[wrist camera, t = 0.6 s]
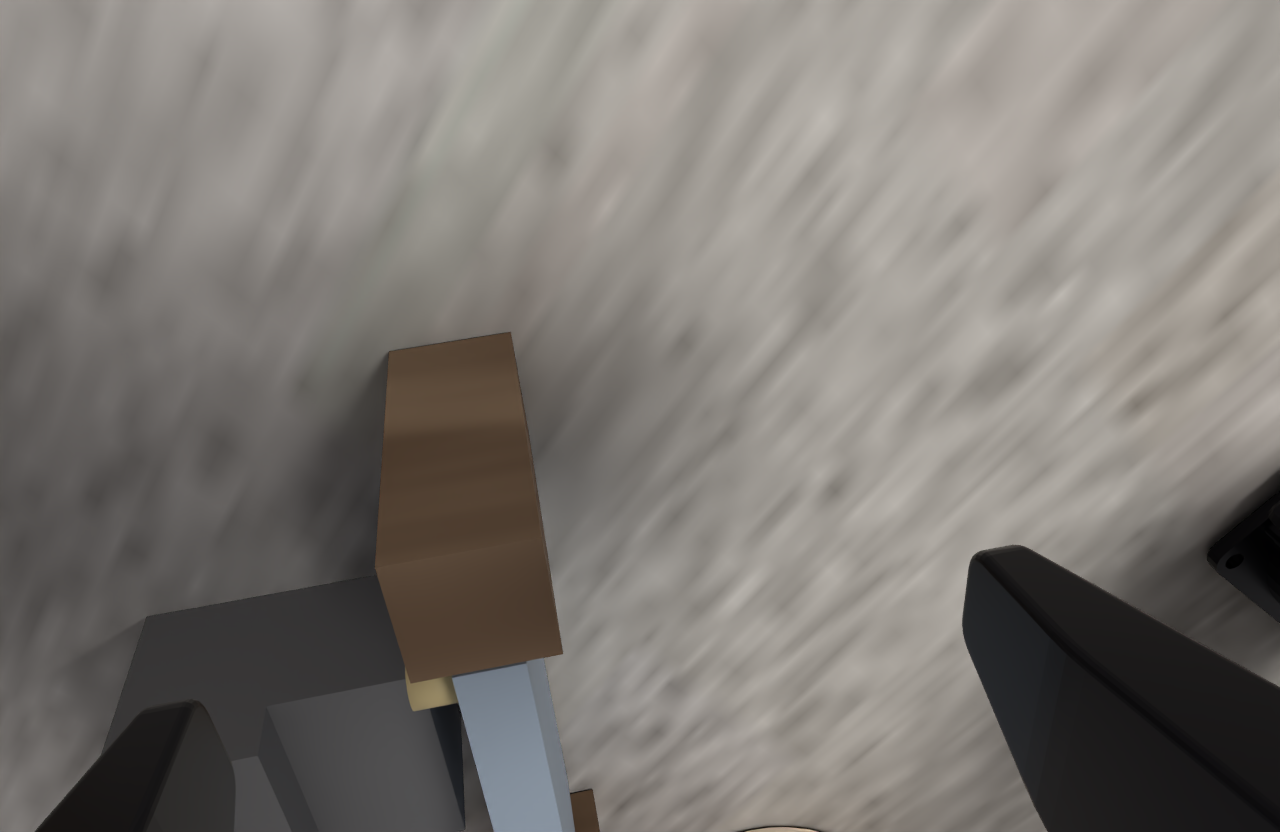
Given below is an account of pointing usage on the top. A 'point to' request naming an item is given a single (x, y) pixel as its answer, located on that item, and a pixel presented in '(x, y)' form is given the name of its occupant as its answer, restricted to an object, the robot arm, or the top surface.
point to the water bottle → (780, 830)
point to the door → (509, 742)
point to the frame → (464, 519)
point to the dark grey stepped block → (307, 710)
